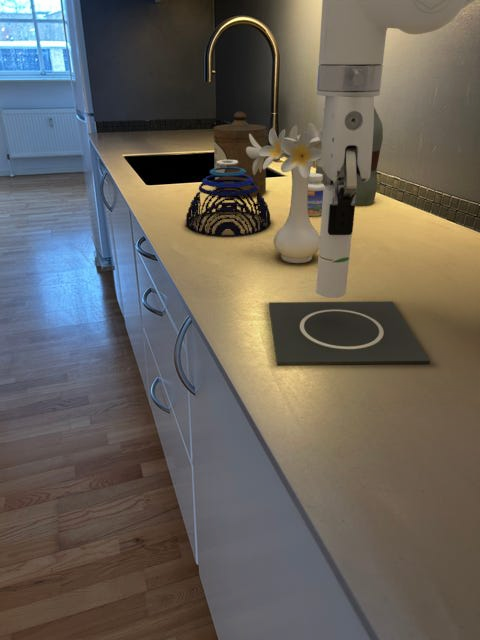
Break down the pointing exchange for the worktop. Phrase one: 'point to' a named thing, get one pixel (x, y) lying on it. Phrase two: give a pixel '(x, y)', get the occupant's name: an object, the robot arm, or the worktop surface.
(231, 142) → the wooden container
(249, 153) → the flower vase
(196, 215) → the decorative bowl
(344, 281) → the tube
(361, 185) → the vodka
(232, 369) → the worktop surface
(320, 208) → the pill bottle
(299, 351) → the slate board
